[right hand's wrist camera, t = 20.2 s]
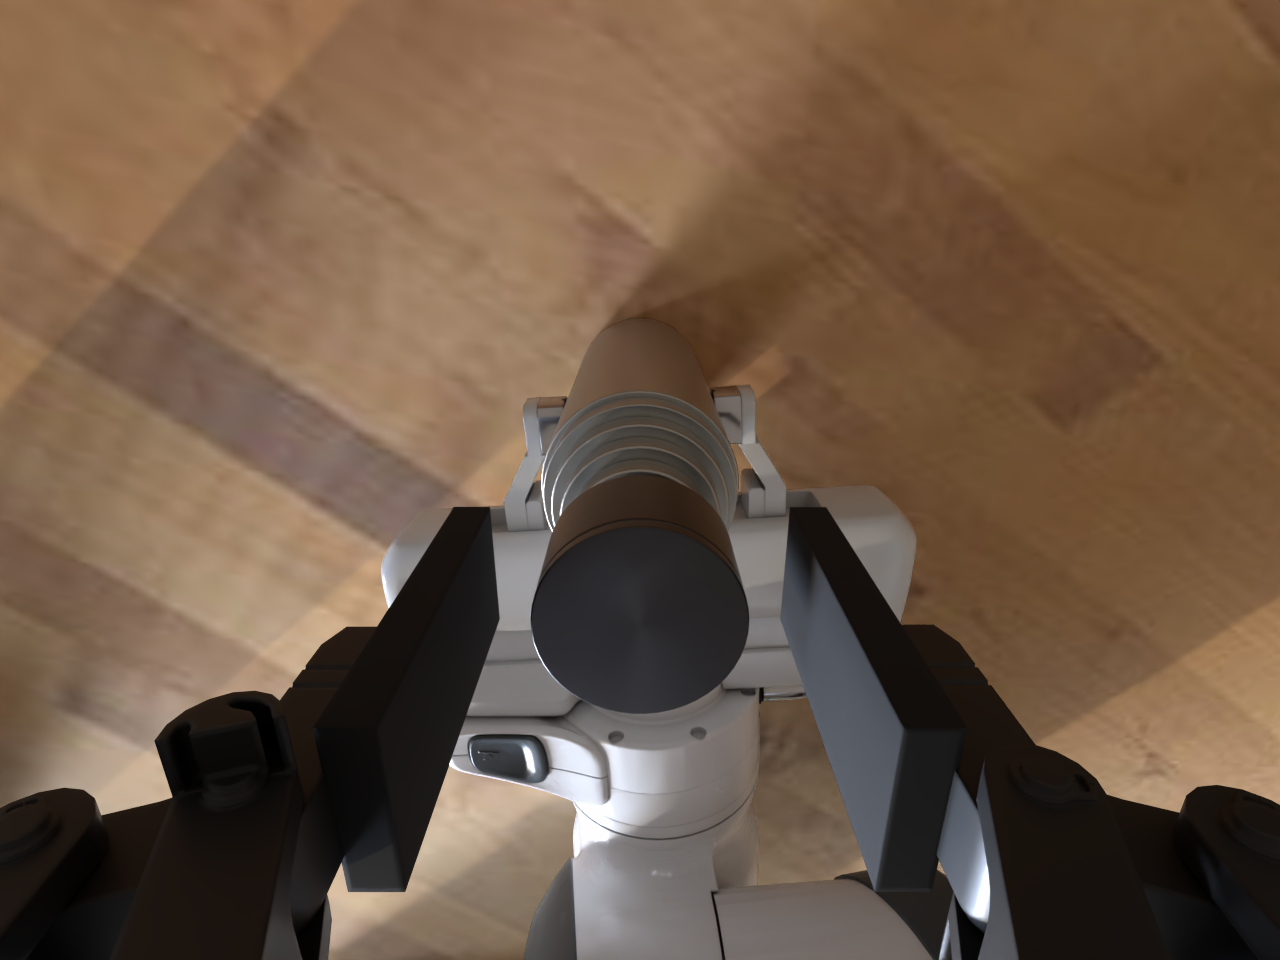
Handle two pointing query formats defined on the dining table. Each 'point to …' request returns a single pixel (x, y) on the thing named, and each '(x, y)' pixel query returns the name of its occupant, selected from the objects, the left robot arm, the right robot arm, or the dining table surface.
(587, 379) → the bottle
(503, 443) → the dining table surface
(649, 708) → the cap
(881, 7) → the dining table surface
